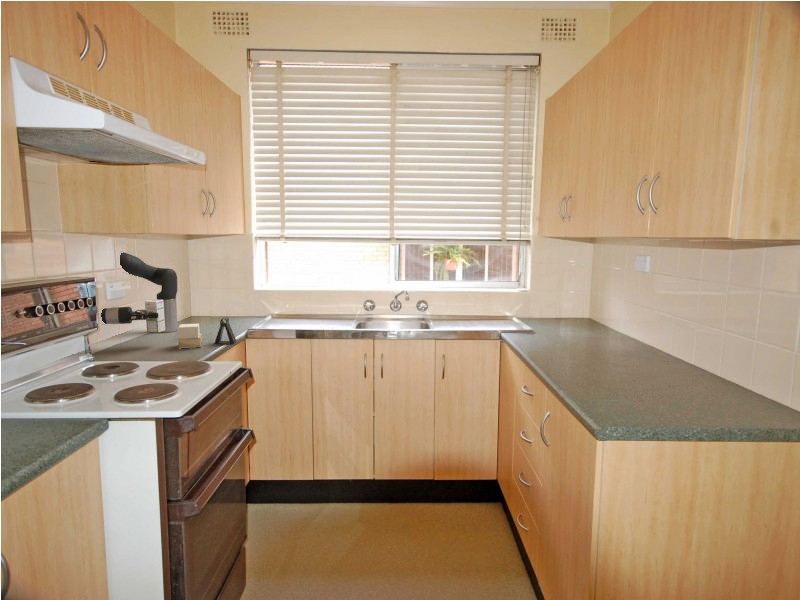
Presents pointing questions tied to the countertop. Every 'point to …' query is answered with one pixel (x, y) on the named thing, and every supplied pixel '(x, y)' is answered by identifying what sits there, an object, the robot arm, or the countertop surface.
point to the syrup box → (155, 323)
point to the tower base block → (190, 342)
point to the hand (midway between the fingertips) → (159, 313)
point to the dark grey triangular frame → (229, 333)
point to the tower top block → (189, 331)
